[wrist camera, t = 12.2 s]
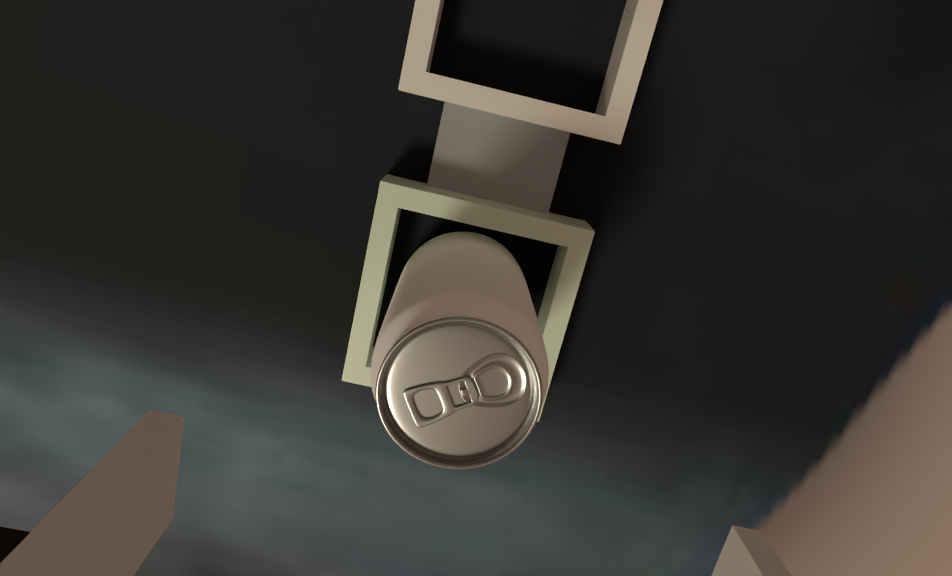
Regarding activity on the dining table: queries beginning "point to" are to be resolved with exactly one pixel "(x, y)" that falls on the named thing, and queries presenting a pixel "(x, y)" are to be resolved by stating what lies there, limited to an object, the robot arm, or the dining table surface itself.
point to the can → (460, 355)
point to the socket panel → (498, 171)
